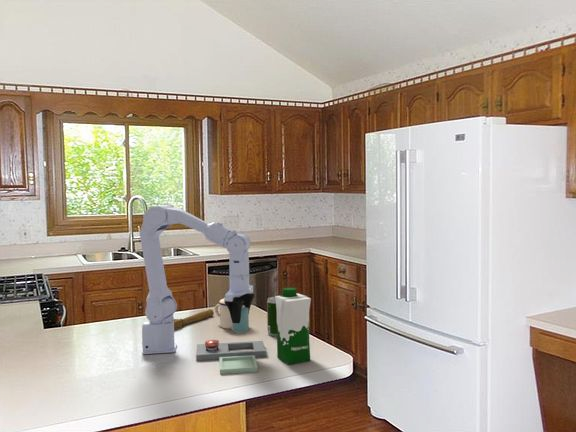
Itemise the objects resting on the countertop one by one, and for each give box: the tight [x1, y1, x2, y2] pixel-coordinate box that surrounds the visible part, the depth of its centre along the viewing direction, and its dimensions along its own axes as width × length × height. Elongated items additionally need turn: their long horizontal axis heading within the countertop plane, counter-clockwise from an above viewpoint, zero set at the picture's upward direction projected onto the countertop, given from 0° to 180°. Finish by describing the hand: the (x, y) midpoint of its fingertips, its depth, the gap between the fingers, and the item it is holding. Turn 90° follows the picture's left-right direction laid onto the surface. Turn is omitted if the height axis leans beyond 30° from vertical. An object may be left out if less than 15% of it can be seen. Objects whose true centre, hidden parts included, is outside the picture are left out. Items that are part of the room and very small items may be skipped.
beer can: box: [266, 296, 277, 337], centre depth 173 cm, size 5×5×12 cm
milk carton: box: [274, 286, 312, 366], centre depth 147 cm, size 9×9×20 cm
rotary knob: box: [231, 305, 250, 333], centre depth 153 cm, size 5×5×7 cm
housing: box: [195, 340, 267, 361], centre depth 154 cm, size 20×10×2 cm, turn 98°
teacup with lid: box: [214, 297, 232, 330], centre depth 185 cm, size 12×9×12 cm
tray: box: [218, 355, 259, 375], centre depth 143 cm, size 10×10×1 cm
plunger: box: [204, 339, 220, 351], centre depth 153 cm, size 4×4×3 cm
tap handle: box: [174, 309, 215, 331], centre depth 186 cm, size 3×3×30 cm
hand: (240, 320), depth 153 cm, fingers closed on rotary knob, 5 cm apart
